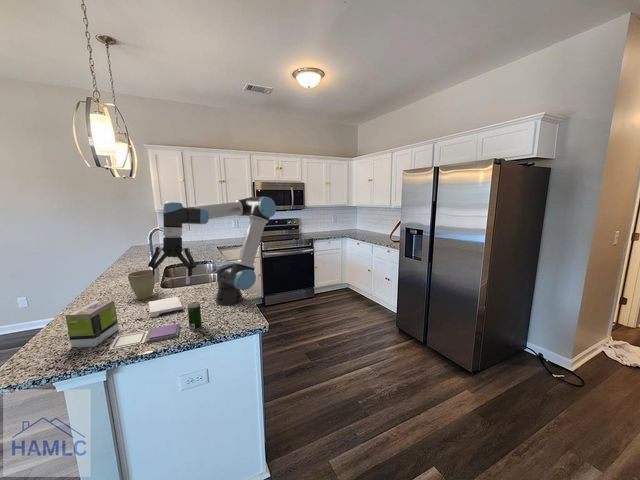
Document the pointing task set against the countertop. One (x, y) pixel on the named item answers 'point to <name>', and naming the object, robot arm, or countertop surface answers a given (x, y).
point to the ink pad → (163, 333)
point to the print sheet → (129, 340)
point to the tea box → (92, 323)
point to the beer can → (194, 316)
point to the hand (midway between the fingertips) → (172, 282)
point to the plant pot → (142, 283)
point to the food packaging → (164, 306)
